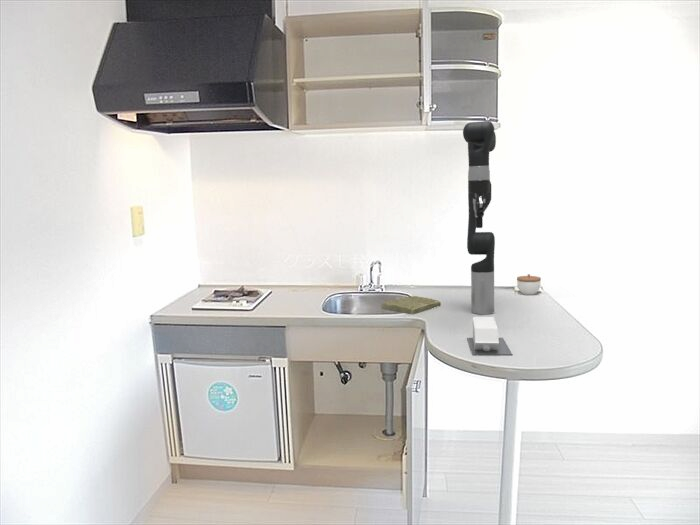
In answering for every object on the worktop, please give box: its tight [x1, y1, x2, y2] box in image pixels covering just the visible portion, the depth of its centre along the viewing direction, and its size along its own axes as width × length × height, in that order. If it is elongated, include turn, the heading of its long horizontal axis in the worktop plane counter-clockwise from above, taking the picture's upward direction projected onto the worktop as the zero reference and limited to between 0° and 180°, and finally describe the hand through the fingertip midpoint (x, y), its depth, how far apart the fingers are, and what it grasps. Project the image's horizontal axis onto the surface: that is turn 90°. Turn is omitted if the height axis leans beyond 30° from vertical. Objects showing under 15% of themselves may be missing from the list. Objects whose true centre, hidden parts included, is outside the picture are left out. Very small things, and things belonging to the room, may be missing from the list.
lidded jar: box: [516, 273, 541, 296], centre depth 245 cm, size 11×11×9 cm
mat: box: [466, 337, 513, 356], centre depth 167 cm, size 18×12×1 cm, turn 173°
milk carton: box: [472, 316, 499, 351], centre depth 167 cm, size 7×7×19 cm
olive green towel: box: [381, 295, 442, 315], centre depth 227 cm, size 19×20×4 cm
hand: (479, 227), depth 185 cm, fingers closed
